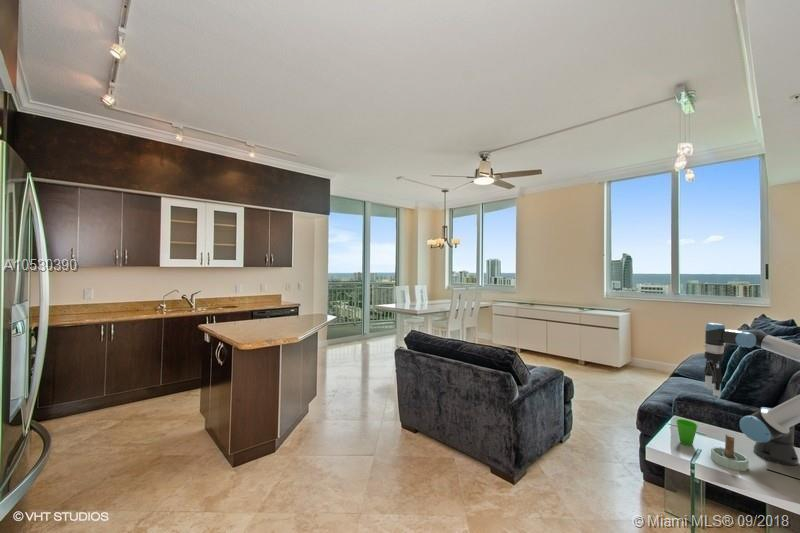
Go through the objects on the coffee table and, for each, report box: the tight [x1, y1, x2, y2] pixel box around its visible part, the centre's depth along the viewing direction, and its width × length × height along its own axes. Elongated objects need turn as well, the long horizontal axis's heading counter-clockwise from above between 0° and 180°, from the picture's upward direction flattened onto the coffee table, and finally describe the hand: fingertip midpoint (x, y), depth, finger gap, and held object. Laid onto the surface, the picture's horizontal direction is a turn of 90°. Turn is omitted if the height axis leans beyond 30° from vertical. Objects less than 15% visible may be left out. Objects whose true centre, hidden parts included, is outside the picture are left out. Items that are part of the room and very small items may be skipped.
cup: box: [675, 418, 699, 446], centre depth 183 cm, size 9×9×11 cm
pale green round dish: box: [710, 446, 750, 471], centre depth 166 cm, size 13×13×4 cm
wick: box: [724, 433, 735, 458], centre depth 166 cm, size 2×2×12 cm
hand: (712, 391), depth 186 cm, fingers open, 13 cm apart
